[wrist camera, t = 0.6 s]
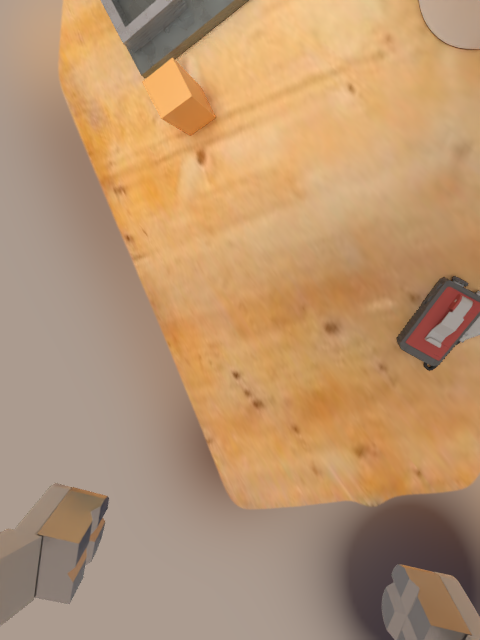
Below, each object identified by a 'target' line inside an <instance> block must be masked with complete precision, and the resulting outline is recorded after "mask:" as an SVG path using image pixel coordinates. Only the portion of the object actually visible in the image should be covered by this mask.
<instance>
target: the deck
mask: <svg viewBox="0 0 480 640" xmlns="http://www.w3.org/2000/svg"><path fill="white" fill-rule="evenodd" d="M247 1H249V0H101V2H102V4H103V6H104V7H105V9H106V11H107V13H108V15H109V17H110V19H111V21H112V23H113V25H114V27H115V29H116V31H117V32H118V34H119V36H120V38H121V40H122V42H123V44H125V45H126V47H127V49H128V51H129V52H130V54H131V56H132V58H133V60H134V62H135V64H136V66H137V68H138V70H139V72H140V74H141V75H142V76H143V77H144V78H147V77H149V76H150V75H151V74H152V73H154V72H155V71H156V70H157V69H159V68H160V67H161V66H162V65H164V64H165V63H166V62H167V61H169V60H170V59H171V58H172V57H173V58H174V59H176V58H177V57H178V56H179V55H181V54H182V53H183V52H184V51H186V50H187V49H188V48H189V47H191V46H192V45H193V44H194V43H196V42H197V41H198V40H200V39H201V38H202V37H203V36H205V35H206V34H207V33H208V32H210V31H211V30H212V29H213V28H215V27H216V26H217V25H218V24H220V23H221V22H222V21H223V20H225V19H226V18H227V17H228V16H230V15H231V14H232V13H233V12H235V11H236V10H237V9H239V8H240V7H241V6H242V5H244V4H245V3H246V2H247Z"/></svg>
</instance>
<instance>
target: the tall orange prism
mask: <svg viewBox="0 0 480 640" xmlns="http://www.w3.org/2000/svg"><path fill="white" fill-rule="evenodd" d="M142 83H143V84H144V86H145V88H146V90H147V92H148V94H149V96H150V98H151V100H152V102H153V104H154V106H155V107H156V109H157V111H158V113H159V115H160V117H161V119H163V120H164V121H166V122H168V123H170V124H171V125H173V126H175V127H176V128H178V129H180V130H182V131H183V132H185V133H187V134H189V135H190V136H191V135H192V134H194V133H195V132H196V131H198V130H199V129H201V128H202V127H204V126H205V125H207V124H208V123H209V122H211V121H212V120H214V119H215V118H216V117H215V115H214V113H213V110H212V108H211V106H210V104H209V102H208V100H207V98H206V96H205V94H204V92H203V90H202V88H201V87H200V86H199V84H198V83H197V82H196V81H195V80H194V79H193V78H192V77H191V76H190V75H189V74H188V73H187V72H186V71H185V70H184V69H183V68H182V67H181V66H180V65H179V64H178V62H177V61H176V60H175V59H174V58H173V57H172V58H171V59H170V60H169V61H167V62H166V63H165V64H164V65H162V66H161V67H160V68H159V69H157V70H156V71H155V72H154V73H152V74H151V75H150V76H149V77H147V78H146V79H145V80H144V81H142Z"/></svg>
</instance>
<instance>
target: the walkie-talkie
mask: <svg viewBox="0 0 480 640" xmlns="http://www.w3.org/2000/svg"><path fill="white" fill-rule="evenodd" d="M452 280H453V281H450V280H448V279H446V278H445V277H443V278H441V279H439V281H438V282H437V284H436V285H435V286H434V288H433V289H432V290H431V292H430V293H429V294H428V296H427V297H426V298H425V300H424V301H423V302H422V304H421V306H420V307H419V309H418V310H417V312H416V313H414V316H412V318H411V319H410V321H409V322H408V323H407V325H405V328H403V331H401V333H400V334H399V336H398V337H397V342H398V344H399V346H400V348H401V349H402V350H403V351H405V352H407V353H409V354H411V355H412V356H414V357H416V358H418V359H420V360H422V361H423V362H424V364H423V365H424V367H425V368H426V369H427V370H429V371H430V370H433V369H435V368H436V367H437V366H438V365H440V363H441V362H442V360H443V359H445V357H446V356H447V354H448V353H450V351H451V350H452V348H453V347H455V345H457V344H459V343H460V342H464V341H465V340H466V339H469V338H472V337H475V336H478V335H480V291H479V290H478V291H477V292H475V293H473V292H471V291H470V290H468V289H466V288H464V286H467V285H468V283H467V282H465V281H464V280H462V279H460V278H458V277H456V276H453V278H452ZM427 364H429V365H431V366H430V367H428V366H427Z"/></svg>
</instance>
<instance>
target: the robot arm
mask: <svg viewBox="0 0 480 640" xmlns="http://www.w3.org/2000/svg"><path fill="white" fill-rule="evenodd" d="M419 4H420V9H421V12H422V15H423V18H424V20H425V22H426V24H427V25H428V27H429V28H430V30H431V31H432V32H433V33H434V34H435V35H436V36H437V37H438V38H439V39H441V40H442V41H444V42H445V43H447V44H449V45H452V46H455V47H458V48H464V49H480V0H419ZM108 501H109V497H108V496H105V495H101V494H97V493H94V492H90V491H86V490H82V489H78V488H74V487H73V488H72V487H68V486H65V485H61V484H58V483H55V484H53V485H51V486H50V487H49V488H48V489H47V491H46V492H45V493H44V494H43V495H42V497H41V498H40V499H39V500H38V501H37V503H36V504H35V505H34V506H33V507H32V509H31V510H30V511H29V512H28V513H27V515H26V516H25V517H24V518H23V519H22V521H21V522H20V523H19V524H18V525H17V527H16V528H15V529H14V530H13V529H6V530H4V531H2V532H0V626H1V625H3V624H4V623H5V622H6V621H8V620H9V619H10V618H12V617H13V616H14V615H15V614H17V613H18V612H19V611H20V610H22V609H23V608H24V607H25V606H27V605H28V604H29V603H31V602H32V601H33V600H34V597H35V598H40V599H45V600H50V601H56V602H61V603H65V604H70V602H71V600H72V598H73V596H74V594H75V593H76V590H77V589H78V586H79V585H80V583H81V581H82V579H83V575H84V569H85V565H87V564H88V563H90V562H91V561H92V559H93V557H94V555H95V553H96V551H97V548H98V546H99V543H100V540H101V538H102V534H103V530H104V526H105V521H104V519H103V516H104V514H105V512H106V510H107V509H108ZM391 575H392V578H393V581H394V583H392V584H390V585H389V586H387V587H386V588H385V591H384V594H383V597H382V614H383V620H384V623H385V626H386V629H387V631H388V632H389V633H390V634H391V635H392V637H393V638H394V639H395V640H480V617H479V615H478V613H477V612H476V610H475V608H474V607H473V605H472V603H471V602H470V600H469V598H468V597H467V595H466V593H465V592H464V590H463V588H462V587H461V585H460V584H459V582H458V580H457V579H455V578H454V577H453V576H450V575H446V574H442V573H437V572H431V571H427V570H423V569H418V568H414V567H409V566H405V565H400V564H398V565H397V566H396V567H395V568H394V570H393V572H392V574H391Z"/></svg>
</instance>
